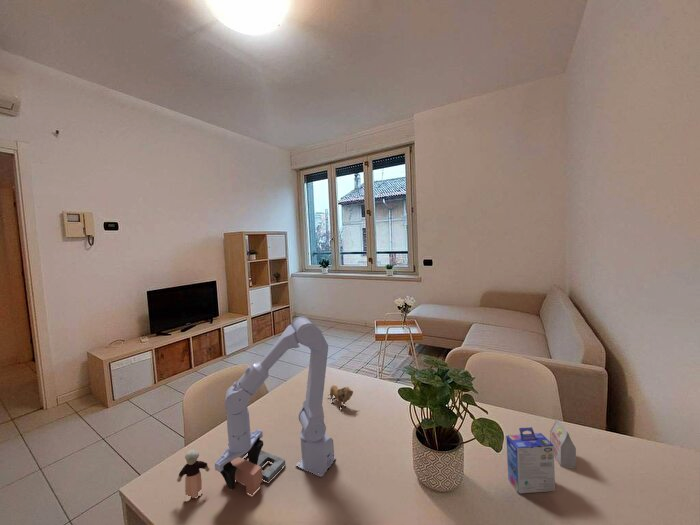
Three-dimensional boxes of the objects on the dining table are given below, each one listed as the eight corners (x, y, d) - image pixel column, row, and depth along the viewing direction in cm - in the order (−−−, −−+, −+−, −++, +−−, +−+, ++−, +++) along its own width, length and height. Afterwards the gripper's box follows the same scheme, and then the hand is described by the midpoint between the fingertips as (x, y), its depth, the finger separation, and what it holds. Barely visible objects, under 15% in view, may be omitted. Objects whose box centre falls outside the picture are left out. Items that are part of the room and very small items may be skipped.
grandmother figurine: (179, 508, 73) (175, 461, 72) (178, 498, 76) (174, 453, 75) (212, 492, 77) (208, 447, 76) (209, 482, 80) (206, 440, 80)
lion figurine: (355, 408, 114) (354, 386, 113) (346, 414, 110) (345, 391, 109) (331, 395, 124) (330, 375, 124) (322, 400, 120) (321, 380, 120)
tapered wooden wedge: (263, 489, 77) (261, 467, 77) (254, 498, 75) (253, 475, 74) (233, 474, 83) (231, 453, 83) (224, 482, 80) (222, 460, 80)
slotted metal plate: (285, 466, 85) (285, 459, 85) (268, 484, 79) (268, 477, 79) (247, 450, 93) (247, 444, 93) (229, 465, 87) (229, 459, 86)
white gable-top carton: (564, 451, 86) (564, 419, 85) (575, 468, 79) (575, 434, 79) (550, 449, 87) (550, 418, 86) (560, 466, 80) (560, 432, 80)
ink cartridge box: (541, 474, 78) (540, 423, 77) (556, 491, 72) (556, 437, 71) (505, 476, 78) (505, 426, 77) (518, 494, 72) (517, 440, 71)
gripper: (249, 412, 86) (252, 455, 87) (205, 442, 73) (209, 492, 74) (266, 418, 83) (269, 462, 84) (223, 451, 70) (227, 502, 71)
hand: (242, 477), depth 79 cm, fingers open, 7 cm apart
